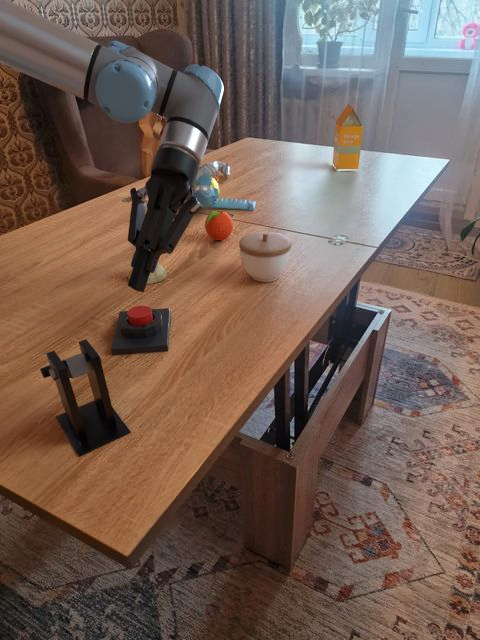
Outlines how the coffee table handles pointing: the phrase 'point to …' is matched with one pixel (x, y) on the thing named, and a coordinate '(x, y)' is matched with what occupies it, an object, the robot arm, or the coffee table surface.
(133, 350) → the control block
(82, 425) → the lever bracket
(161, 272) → the hand bell
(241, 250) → the trinket box
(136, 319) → the button
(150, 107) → the robot arm
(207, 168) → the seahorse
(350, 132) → the orange juice
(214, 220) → the clementine
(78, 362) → the press lever
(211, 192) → the blue toy plane
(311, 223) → the coffee table surface
